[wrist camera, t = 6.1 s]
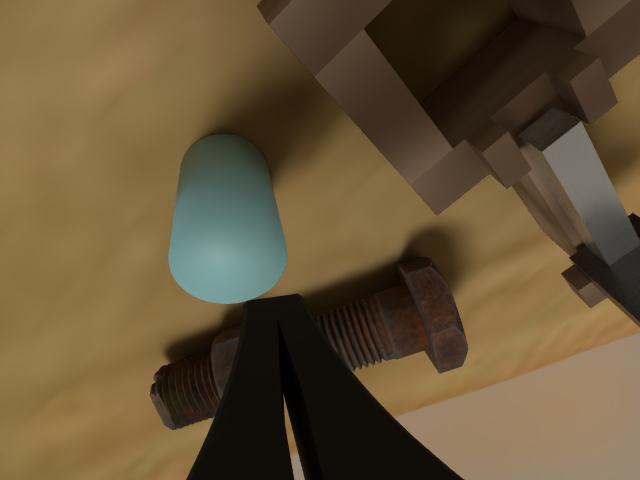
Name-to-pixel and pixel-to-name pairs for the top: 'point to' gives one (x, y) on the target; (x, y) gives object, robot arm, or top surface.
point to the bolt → (332, 342)
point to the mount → (472, 95)
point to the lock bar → (589, 207)
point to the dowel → (226, 223)
